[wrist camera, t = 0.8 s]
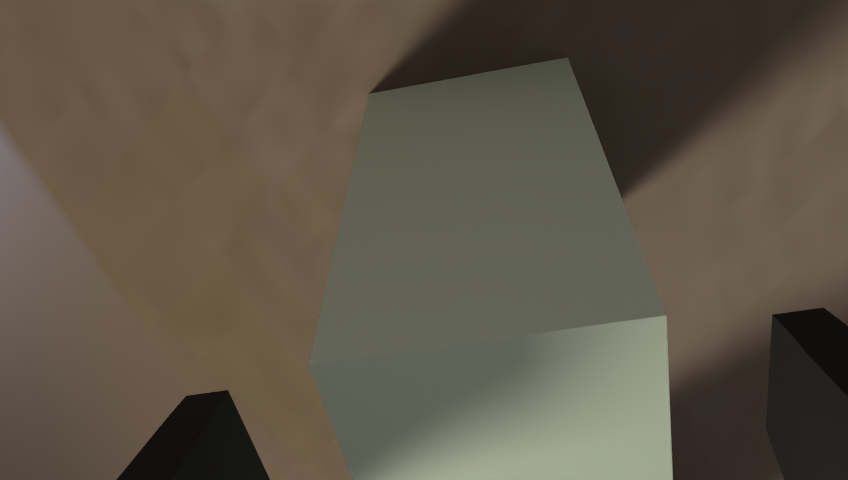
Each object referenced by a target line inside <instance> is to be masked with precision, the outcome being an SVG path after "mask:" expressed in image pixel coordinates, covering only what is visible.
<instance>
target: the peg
mask: <svg viewBox="0 0 848 480" xmlns="http://www.w3.org/2000/svg"><path fill="white" fill-rule="evenodd" d="M309 366H310V369H311V372H312V374H313V377H314V379H315V382H316V385H317V387H318V390H319V393H320V395H321V398H322V400H323V403H324V406H325V408H326V411H327V414H328V416H329V419H330V421H331V424H332V427H333V429H334V432H335V435H336V437H337V440H338V442H339V445H340V448H341V450H342V453H343V456H344V458H345V461H346V464H347V466H348V469H349V471H350V474H351V477H352V479H353V480H673V472H672V447H671V421H670V396H669V371H668V346H667V321H666V313H665V311H664V308H663V305H662V303H661V300H660V298H659V295H658V292H657V290H656V287H655V284H654V282H653V279H652V277H651V274H650V271H649V269H648V266H647V264H646V261H645V258H644V256H643V253H642V250H641V248H640V245H639V243H638V240H637V237H636V235H635V232H634V230H633V227H632V224H631V222H630V219H629V216H628V214H627V211H626V209H625V206H624V203H623V201H622V198H621V196H620V193H619V190H618V188H617V185H616V182H615V180H614V177H613V175H612V172H611V169H610V167H609V164H608V162H607V159H606V156H605V154H604V151H603V148H602V146H601V143H600V141H599V138H598V135H597V133H596V130H595V127H594V125H593V122H592V120H591V117H590V114H589V112H588V109H587V107H586V104H585V101H584V99H583V96H582V93H581V91H580V88H579V86H578V83H577V80H576V78H575V75H574V73H573V70H572V67H571V65H570V62H569V59H568V57H566V58H561V59H555V60H550V61H544V62H539V63H533V64H528V65H523V66H517V67H512V68H506V69H501V70H495V71H490V72H485V73H479V74H474V75H468V76H463V77H457V78H452V79H446V80H441V81H436V82H430V83H425V84H419V85H414V86H408V87H403V88H398V89H392V90H387V91H381V92H376V93H370V94H369V95H368V100H367V104H366V109H365V113H364V118H363V122H362V127H361V131H360V136H359V140H358V145H357V150H356V154H355V159H354V163H353V168H352V172H351V177H350V181H349V186H348V190H347V195H346V199H345V204H344V208H343V213H342V217H341V222H340V226H339V231H338V235H337V240H336V244H335V249H334V253H333V258H332V262H331V267H330V271H329V276H328V281H327V285H326V290H325V294H324V299H323V303H322V308H321V312H320V317H319V321H318V326H317V330H316V335H315V339H314V344H313V348H312V353H311V357H310V362H309Z"/></svg>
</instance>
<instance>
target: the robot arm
mask: <svg viewBox="0 0 848 480" xmlns="http://www.w3.org/2000/svg"><path fill="white" fill-rule="evenodd" d="M766 430H767V432H768V435H769V438H770V441H771V444H772V447H773V449H774V452H775V455H776V458H777V461H778V463H779V466H780V469H781V472H782V474H783V477H784V480H848V326H847V325H846V324H844V323H843V322H842V321H840V320H839V319H838V318H837V317H835V316H834V315H833V314H831V313H830V312H829V311H827V310H826V309H825V308H818V309H811V310H804V311H796V312H789V313H782V314H775V315H772V332H771V349H770V367H769V385H768V402H767V420H766ZM117 480H270V479H269V477H268V475H267V473H266V470H265V468H264V466H263V464H262V462H261V460H260V458H259V456H258V453H257V451H256V449H255V447H254V445H253V443H252V441H251V438H250V436H249V434H248V432H247V430H246V428H245V426H244V424H243V421H242V419H241V417H240V415H239V413H238V411H237V409H236V407H235V404H234V402H233V400H232V398H231V396H230V394H229V392H228V390H226V391H219V392H211V393H204V394H197V395H190V396H186V397H185V398H184V399H183V400H182V401H181V403H180V404H179V405H178V406H177V407H176V408H175V410H174V411H173V412H172V413H171V414H170V415H169V417H168V418H167V419H166V420H165V421H164V423H163V424H162V425H161V426H160V427H159V429H158V430H157V431H156V432H155V434H154V435H153V436H152V437H151V438H150V440H149V441H148V442H147V443H146V445H145V446H144V447H143V448H142V450H141V451H140V452H139V453H138V454H137V456H136V457H135V458H134V459H133V461H132V462H131V463H130V464H129V465H128V467H127V468H126V469H125V470H124V472H123V473H122V474H121V475H120V476H119V477H118V479H117Z"/></svg>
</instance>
